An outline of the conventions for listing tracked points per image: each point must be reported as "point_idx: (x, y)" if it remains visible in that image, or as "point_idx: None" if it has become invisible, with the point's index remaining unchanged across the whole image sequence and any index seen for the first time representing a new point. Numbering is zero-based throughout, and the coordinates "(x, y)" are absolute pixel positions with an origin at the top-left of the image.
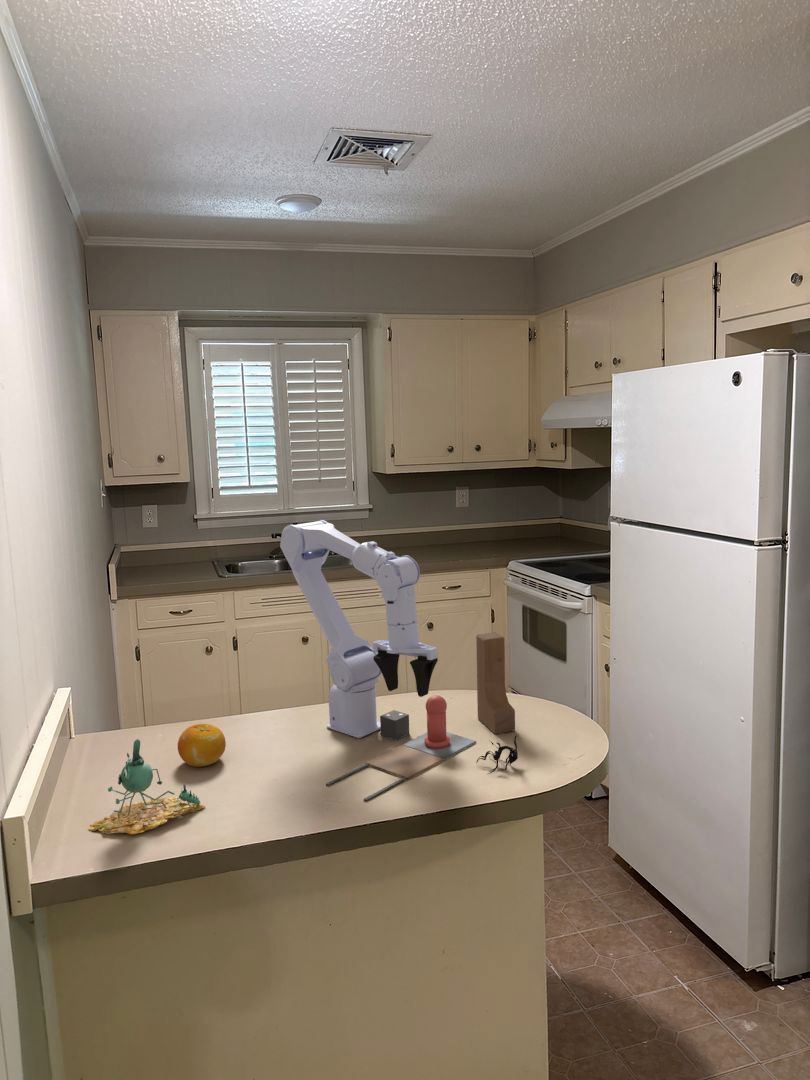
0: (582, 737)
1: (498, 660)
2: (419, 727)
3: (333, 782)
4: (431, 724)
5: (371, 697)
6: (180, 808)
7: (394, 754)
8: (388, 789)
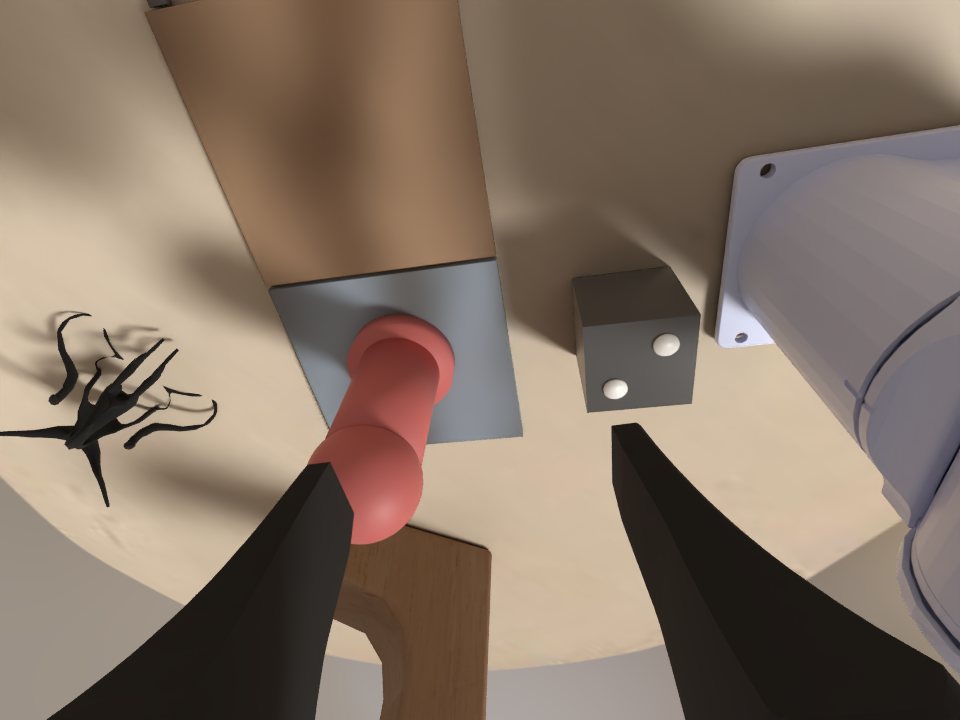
0: None
1: None
2: (591, 415)
3: None
4: (366, 388)
5: (823, 367)
6: None
7: (431, 157)
8: None
